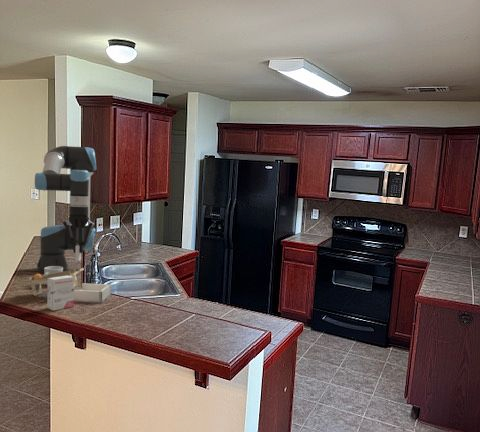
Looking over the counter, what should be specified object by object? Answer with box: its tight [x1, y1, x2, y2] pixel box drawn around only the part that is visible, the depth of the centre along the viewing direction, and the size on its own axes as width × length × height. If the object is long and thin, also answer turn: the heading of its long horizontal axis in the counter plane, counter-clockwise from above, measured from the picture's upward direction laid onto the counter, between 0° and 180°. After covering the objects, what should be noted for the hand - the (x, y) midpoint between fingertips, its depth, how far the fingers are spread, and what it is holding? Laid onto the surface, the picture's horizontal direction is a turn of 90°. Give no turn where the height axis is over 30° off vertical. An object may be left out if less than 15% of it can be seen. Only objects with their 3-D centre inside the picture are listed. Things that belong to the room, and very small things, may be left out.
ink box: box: [46, 275, 75, 311], centre depth 171 cm, size 9×5×12 cm, turn 137°
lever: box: [28, 267, 85, 297], centre depth 190 cm, size 15×17×8 cm
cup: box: [42, 266, 64, 286], centre depth 202 cm, size 11×8×8 cm
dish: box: [74, 282, 112, 304], centre depth 186 cm, size 12×12×4 cm
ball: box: [33, 273, 43, 279], centre depth 186 cm, size 3×3×3 cm
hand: (78, 260), depth 193 cm, fingers closed
